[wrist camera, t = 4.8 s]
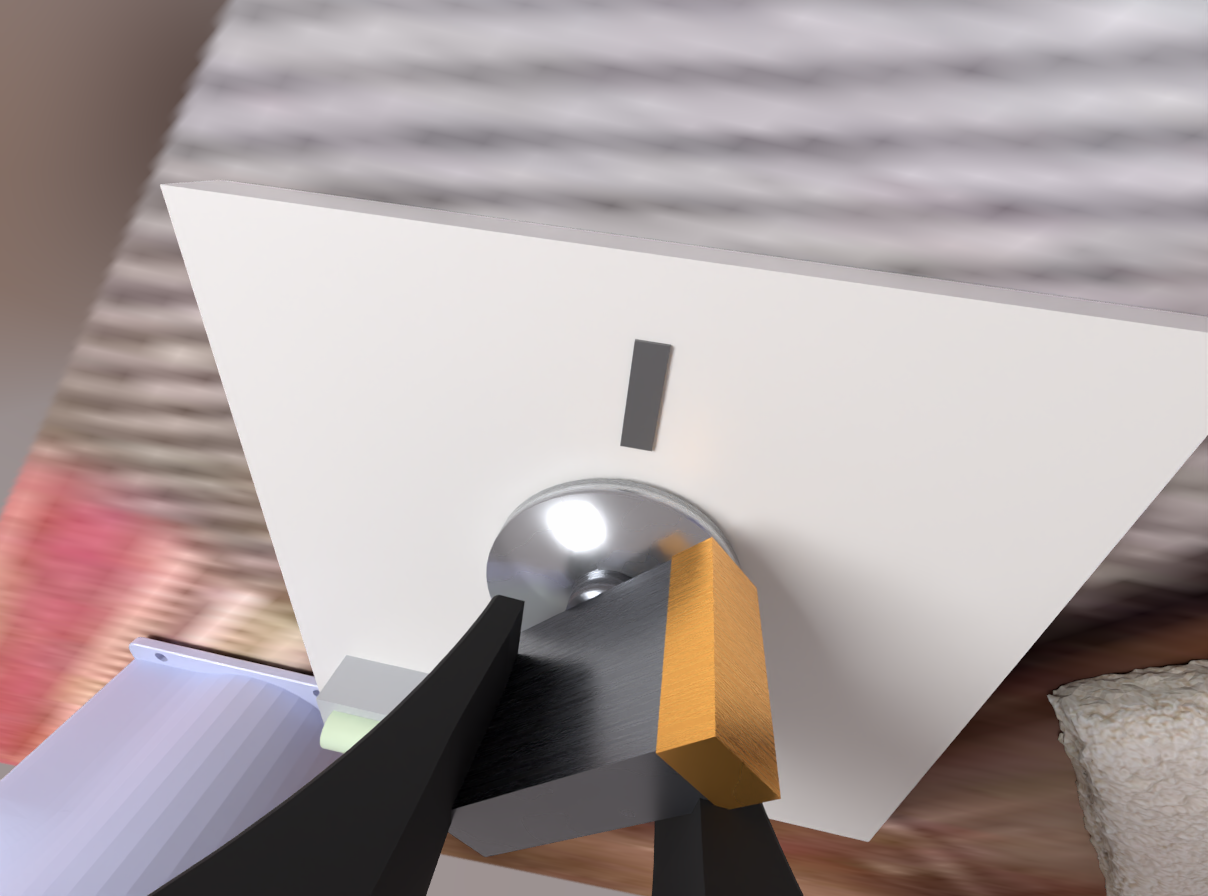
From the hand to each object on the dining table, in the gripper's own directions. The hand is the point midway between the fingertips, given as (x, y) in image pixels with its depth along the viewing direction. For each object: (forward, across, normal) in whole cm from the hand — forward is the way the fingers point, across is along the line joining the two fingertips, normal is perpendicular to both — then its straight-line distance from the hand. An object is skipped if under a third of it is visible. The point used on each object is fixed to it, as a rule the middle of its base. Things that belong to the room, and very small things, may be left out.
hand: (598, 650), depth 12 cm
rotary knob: (+2, 0, 0) cm, 2 cm away
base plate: (+4, 0, +1) cm, 4 cm away
